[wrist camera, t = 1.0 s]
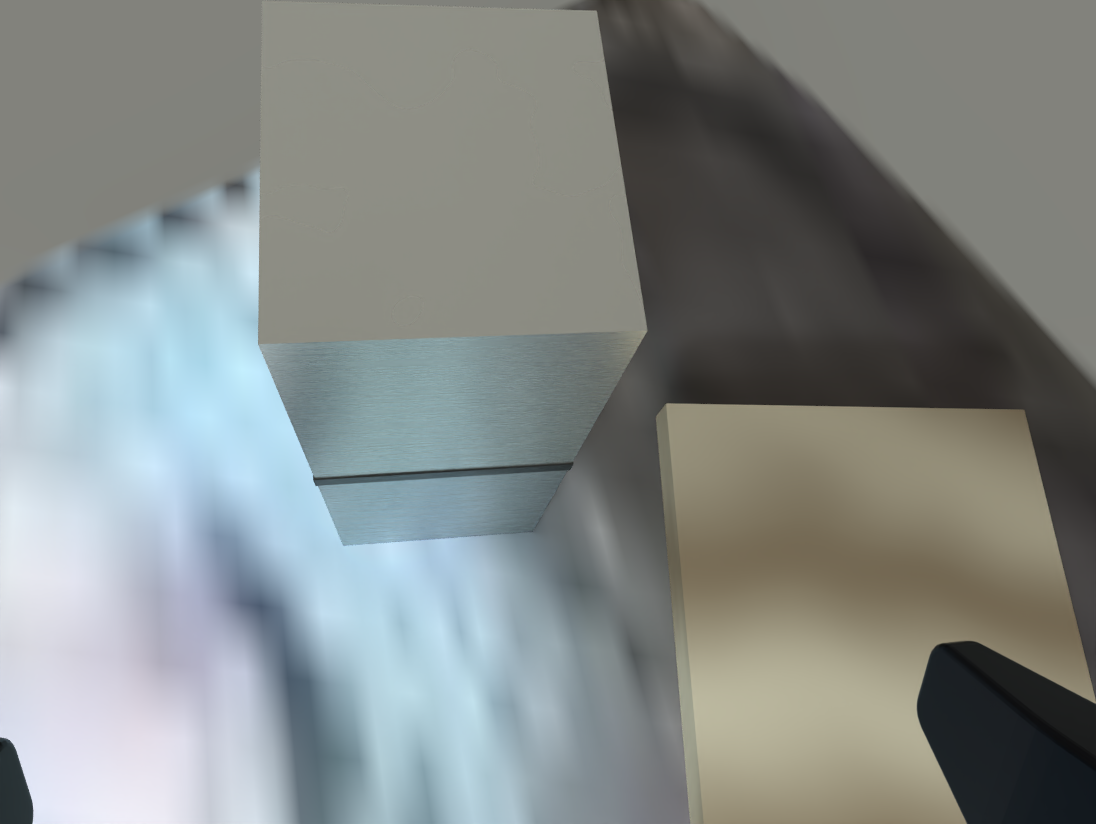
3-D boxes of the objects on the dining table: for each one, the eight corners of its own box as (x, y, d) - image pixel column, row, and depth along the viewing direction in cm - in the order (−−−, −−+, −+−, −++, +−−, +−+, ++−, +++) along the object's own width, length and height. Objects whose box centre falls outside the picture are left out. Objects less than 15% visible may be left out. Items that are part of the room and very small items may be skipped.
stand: (1036, 806, 22) (1124, 817, 19) (667, 827, 21) (705, 842, 18) (958, 444, 26) (1024, 409, 23) (637, 440, 24) (666, 403, 21)
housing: (533, 532, 23) (650, 332, 11) (341, 546, 22) (255, 346, 10) (514, 345, 25) (598, 9, 13) (337, 352, 24) (259, -2, 12)
